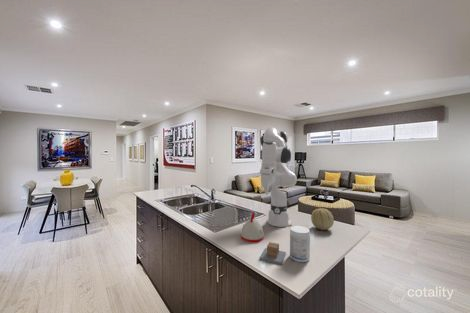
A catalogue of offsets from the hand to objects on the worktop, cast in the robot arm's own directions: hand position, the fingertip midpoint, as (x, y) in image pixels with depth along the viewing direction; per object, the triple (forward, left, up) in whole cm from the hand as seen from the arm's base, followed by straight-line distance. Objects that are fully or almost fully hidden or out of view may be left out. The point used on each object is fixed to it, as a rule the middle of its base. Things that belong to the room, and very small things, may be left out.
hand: (268, 192), depth 118 cm
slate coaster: (+16, +7, -30) cm, 34 cm away
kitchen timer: (-2, -10, -30) cm, 32 cm away
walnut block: (+15, +7, -28) cm, 33 cm away
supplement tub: (+11, +19, -30) cm, 37 cm away
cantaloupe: (-36, +30, -30) cm, 56 cm away
